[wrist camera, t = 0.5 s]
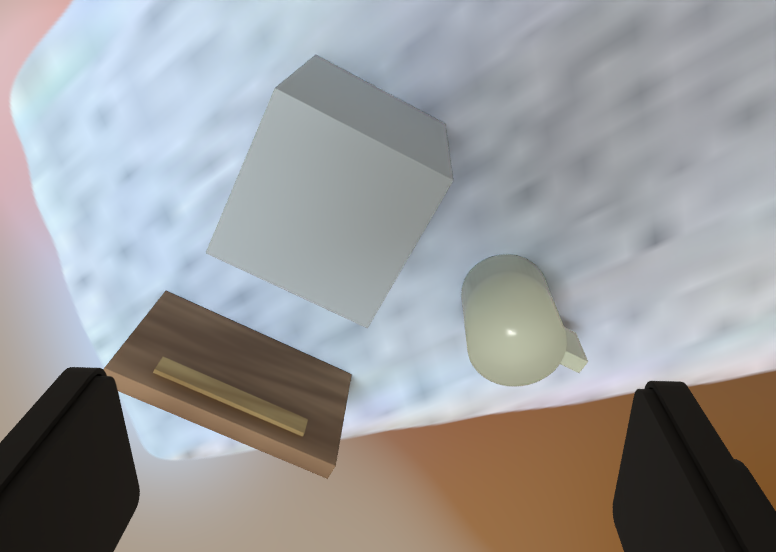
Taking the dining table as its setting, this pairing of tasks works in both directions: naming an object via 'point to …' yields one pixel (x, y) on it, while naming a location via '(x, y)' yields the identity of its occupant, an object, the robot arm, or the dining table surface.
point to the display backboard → (235, 383)
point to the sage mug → (515, 323)
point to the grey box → (334, 191)
